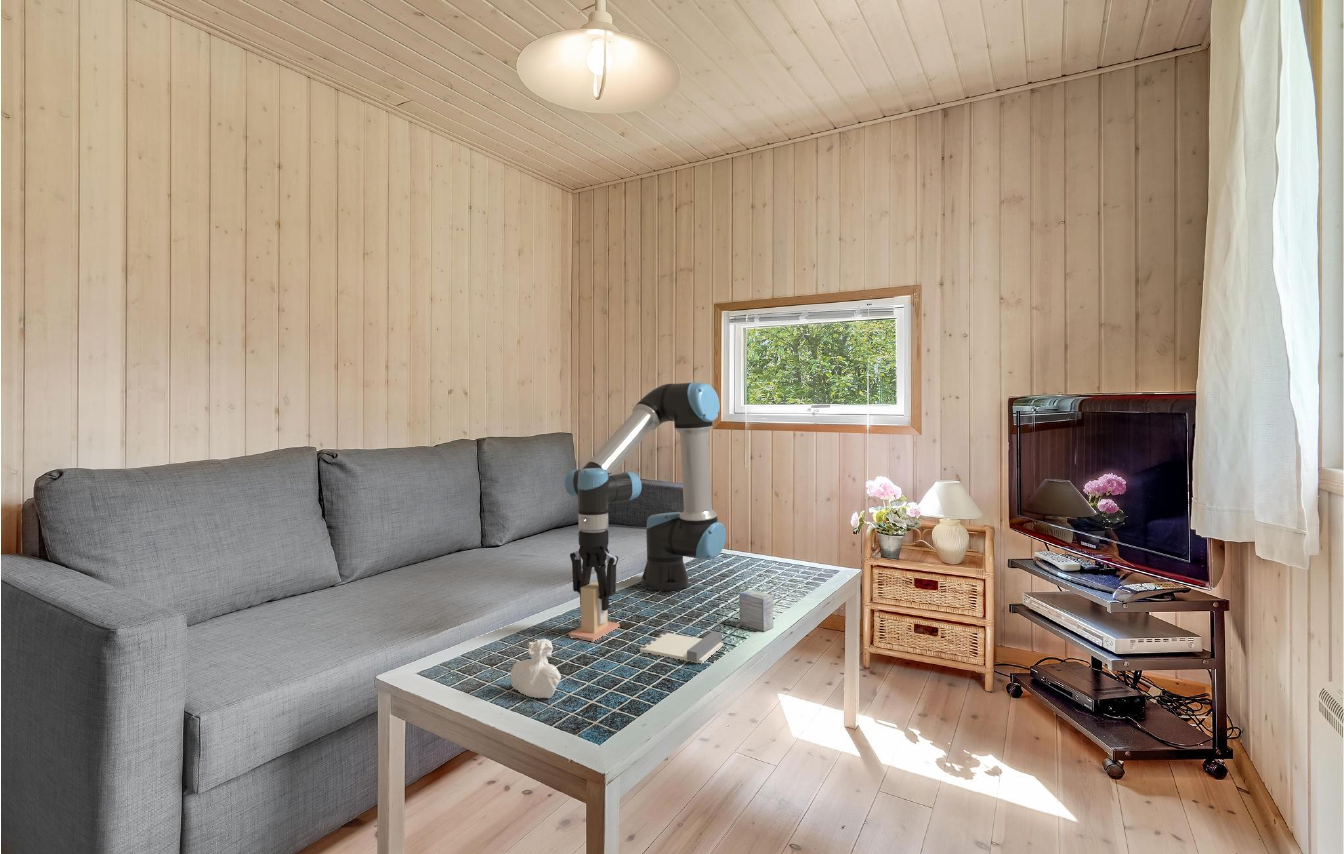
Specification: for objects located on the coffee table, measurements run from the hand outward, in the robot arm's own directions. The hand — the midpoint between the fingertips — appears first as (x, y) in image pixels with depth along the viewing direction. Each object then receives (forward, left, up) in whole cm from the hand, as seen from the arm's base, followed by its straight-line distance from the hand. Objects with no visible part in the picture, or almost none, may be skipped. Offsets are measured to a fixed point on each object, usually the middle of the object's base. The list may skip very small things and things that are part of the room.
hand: (594, 620), depth 163 cm
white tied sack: (+9, -33, -3) cm, 34 cm away
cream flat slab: (+25, 0, -3) cm, 25 cm away
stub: (0, 0, -3) cm, 3 cm away
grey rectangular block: (+35, +23, -3) cm, 42 cm away
